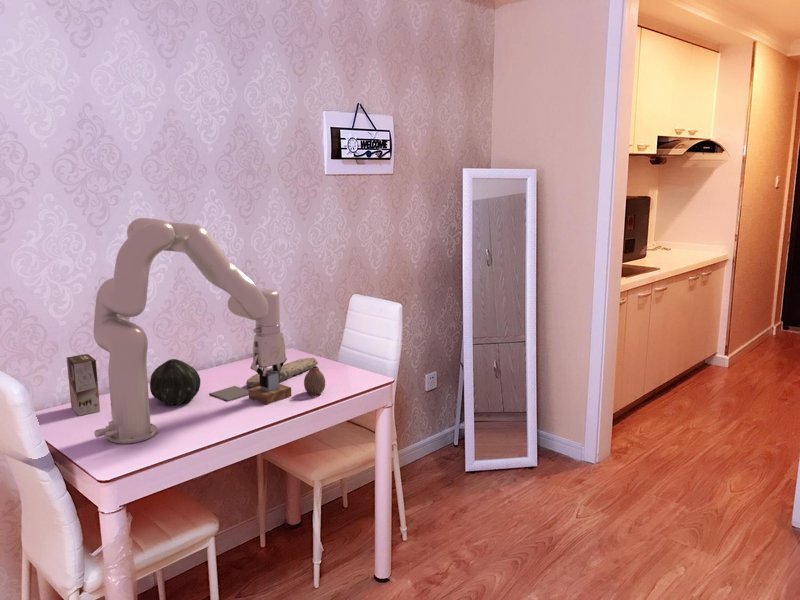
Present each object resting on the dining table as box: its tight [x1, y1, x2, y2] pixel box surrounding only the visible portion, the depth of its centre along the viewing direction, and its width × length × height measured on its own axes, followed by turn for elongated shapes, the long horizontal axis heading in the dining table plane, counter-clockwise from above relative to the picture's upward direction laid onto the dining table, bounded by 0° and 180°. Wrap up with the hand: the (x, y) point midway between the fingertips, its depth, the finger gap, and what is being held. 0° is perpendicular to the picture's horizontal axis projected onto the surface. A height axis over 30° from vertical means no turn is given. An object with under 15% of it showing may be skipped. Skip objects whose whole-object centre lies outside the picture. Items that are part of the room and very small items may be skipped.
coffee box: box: [66, 353, 101, 417], centre depth 194 cm, size 9×6×16 cm
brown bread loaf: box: [245, 357, 318, 389], centre depth 230 cm, size 35×5×10 cm
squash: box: [149, 358, 201, 406], centre depth 202 cm, size 14×15×15 cm
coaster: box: [208, 385, 249, 402], centre depth 210 cm, size 10×10×1 cm
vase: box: [303, 366, 326, 396], centre depth 211 cm, size 7×7×9 cm
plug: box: [261, 369, 280, 392], centre depth 207 cm, size 4×4×8 cm
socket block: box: [247, 383, 292, 405], centre depth 207 cm, size 10×9×3 cm
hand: (269, 384), depth 207 cm, fingers closed on plug, 4 cm apart
